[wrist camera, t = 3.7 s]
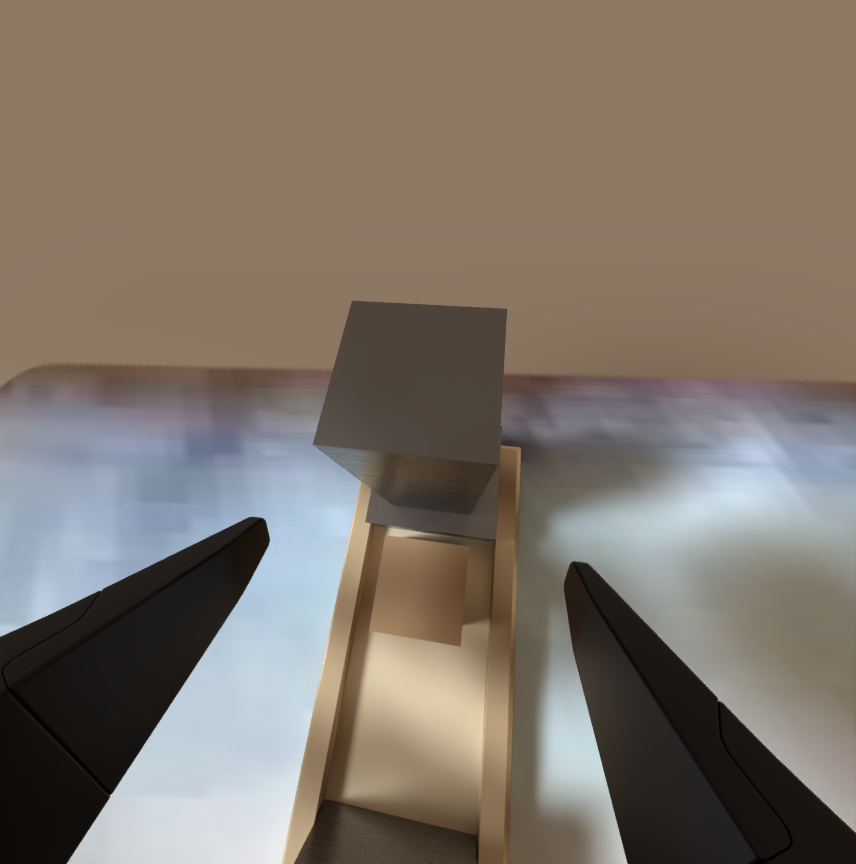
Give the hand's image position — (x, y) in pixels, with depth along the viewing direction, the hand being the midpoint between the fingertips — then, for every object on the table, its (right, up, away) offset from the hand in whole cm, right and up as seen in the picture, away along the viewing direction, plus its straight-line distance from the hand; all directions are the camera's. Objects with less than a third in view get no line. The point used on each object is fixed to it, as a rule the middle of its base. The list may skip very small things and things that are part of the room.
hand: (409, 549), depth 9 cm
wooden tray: (0, -8, +9) cm, 12 cm away
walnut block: (+1, -5, +9) cm, 10 cm away
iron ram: (+1, 0, +10) cm, 10 cm away
